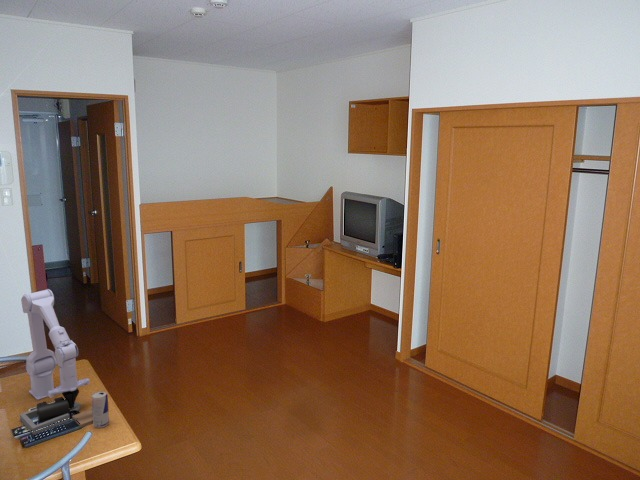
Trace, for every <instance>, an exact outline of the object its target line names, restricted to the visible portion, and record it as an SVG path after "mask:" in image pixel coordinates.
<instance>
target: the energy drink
mask: <svg viewBox="0 0 640 480" xmlns="http://www.w3.org/2000/svg"><path fill="white" fill-rule="evenodd" d="M91 409H92V411H93V423H92V424H93V427H94V428H96V429H97V428H98V429H102V428H105V427H107V426H108V425H109V423H110V413H109V412H110V411H109V409H110V408H109V396H108V393H107V391H104V390H100V391H95V392H94V393H93V394H92V395H91Z"/></svg>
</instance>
